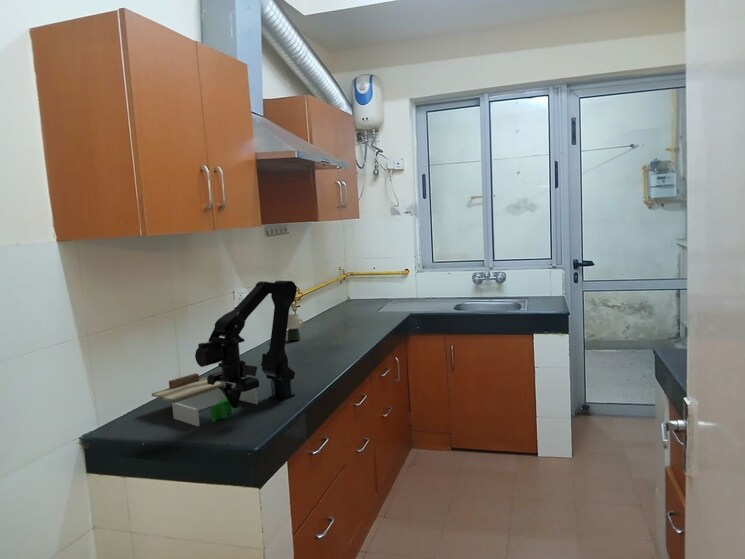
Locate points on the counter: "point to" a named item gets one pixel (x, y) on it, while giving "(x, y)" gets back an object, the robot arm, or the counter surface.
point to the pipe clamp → (221, 410)
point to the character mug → (294, 326)
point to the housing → (205, 404)
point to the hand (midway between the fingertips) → (235, 408)
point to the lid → (185, 388)
